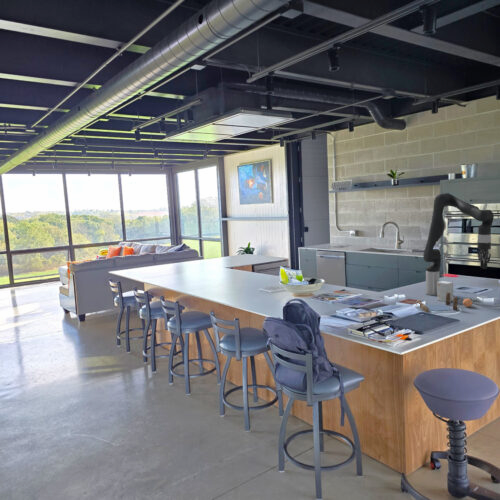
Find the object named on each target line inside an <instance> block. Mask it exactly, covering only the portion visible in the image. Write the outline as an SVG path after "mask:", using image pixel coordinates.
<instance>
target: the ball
mask: <svg viewBox="0 0 500 500" xmlns="http://www.w3.org/2000/svg"><path fill="white" fill-rule="evenodd" d="M462 305H463V306H464V307H467V308H471V307H472V305H473V301H472V299H471V298H465V299H463V300H462Z"/></svg>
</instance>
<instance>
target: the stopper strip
mask: <svg viewBox="0 0 500 500" xmlns="http://www.w3.org/2000/svg"><path fill="white" fill-rule="evenodd" d="M416 303H419V304H420V307H419V308H420V309H421V310H422V311H424V312H425V313H429V312H430V310H429V308H428V307H427V306H425V305H426V304H424V303H423V302H422V301H421V300H416V301H415V304H416Z"/></svg>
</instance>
